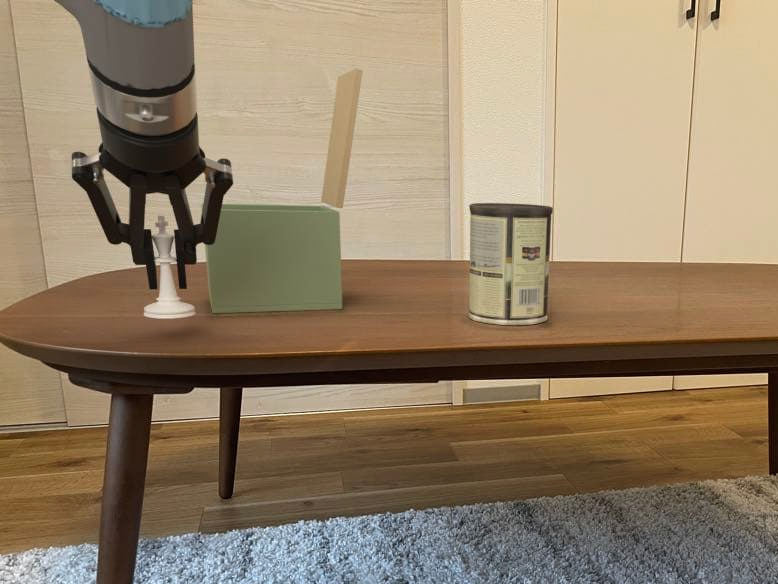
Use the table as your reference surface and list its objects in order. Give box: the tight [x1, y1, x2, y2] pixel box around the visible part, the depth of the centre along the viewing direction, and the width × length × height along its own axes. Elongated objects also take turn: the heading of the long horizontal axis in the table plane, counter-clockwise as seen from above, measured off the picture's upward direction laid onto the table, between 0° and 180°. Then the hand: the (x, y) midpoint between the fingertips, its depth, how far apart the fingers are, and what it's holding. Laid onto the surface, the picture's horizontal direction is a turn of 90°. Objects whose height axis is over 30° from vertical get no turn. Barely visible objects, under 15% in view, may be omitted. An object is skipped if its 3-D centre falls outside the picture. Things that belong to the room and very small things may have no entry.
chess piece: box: [143, 214, 197, 320], centre depth 79 cm, size 5×5×10 cm
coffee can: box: [468, 202, 554, 326], centre depth 98 cm, size 10×10×14 cm
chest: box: [201, 202, 343, 314], centre depth 101 cm, size 16×12×12 cm
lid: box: [320, 68, 363, 209], centre depth 100 cm, size 16×12×1 cm
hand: (167, 278), depth 83 cm, fingers closed on chess piece, 2 cm apart
